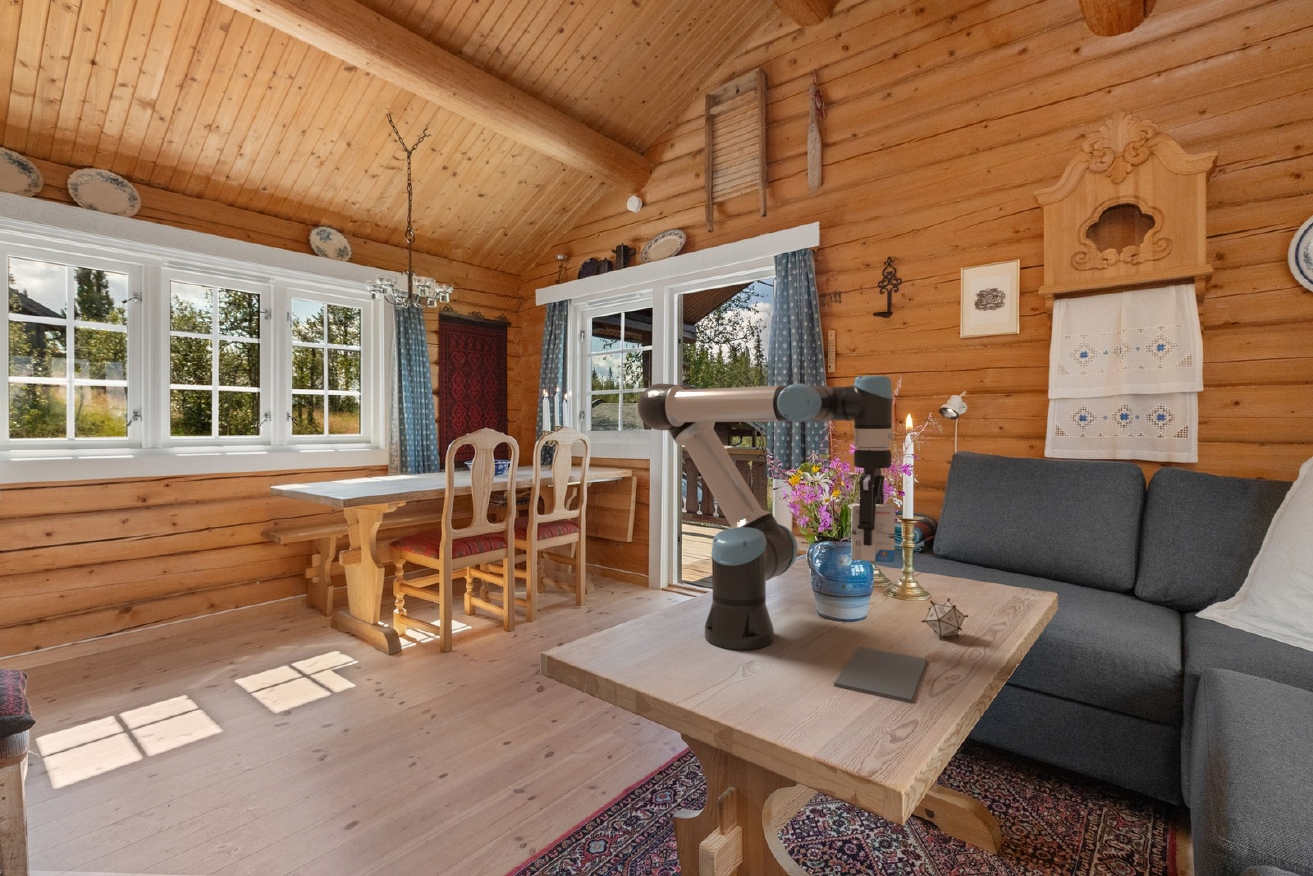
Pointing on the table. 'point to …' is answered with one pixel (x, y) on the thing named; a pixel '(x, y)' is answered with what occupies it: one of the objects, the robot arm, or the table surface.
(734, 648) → the robot arm
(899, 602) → the table surface
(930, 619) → the game die
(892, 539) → the ink box
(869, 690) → the mat
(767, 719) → the table surface
